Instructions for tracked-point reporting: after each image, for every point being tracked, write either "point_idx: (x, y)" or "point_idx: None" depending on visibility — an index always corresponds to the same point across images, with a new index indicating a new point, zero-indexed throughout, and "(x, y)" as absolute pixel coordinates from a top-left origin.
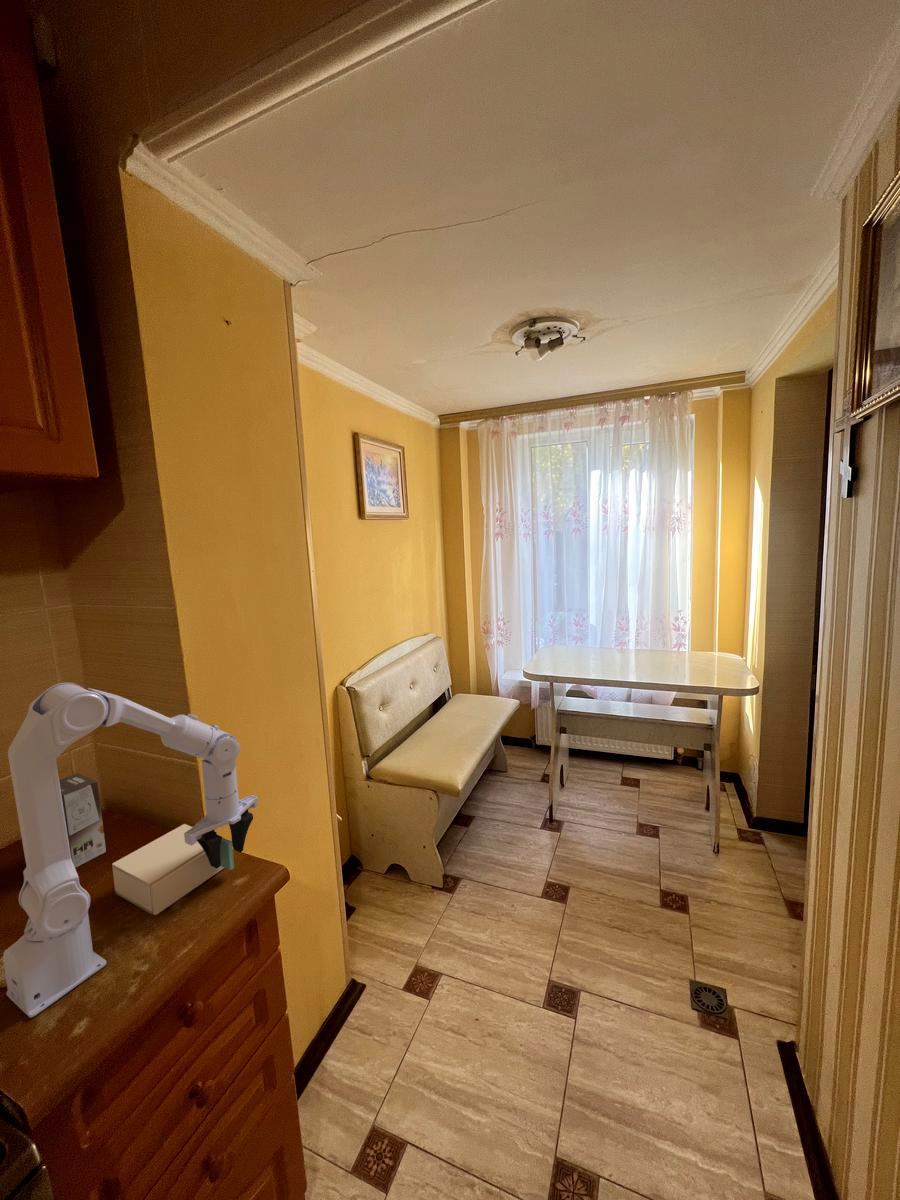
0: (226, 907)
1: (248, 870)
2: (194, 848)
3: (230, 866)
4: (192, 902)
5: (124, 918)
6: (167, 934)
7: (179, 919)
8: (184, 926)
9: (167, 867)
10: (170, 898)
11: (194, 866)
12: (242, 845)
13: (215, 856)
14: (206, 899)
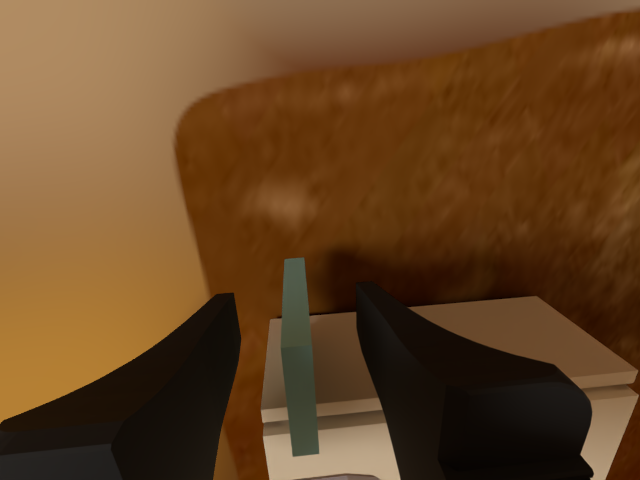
0: (414, 111)
1: (228, 230)
2: (383, 461)
3: (303, 265)
4: (445, 255)
5: None
6: (580, 186)
7: (518, 217)
8: (538, 168)
9: None
10: (500, 312)
11: None
12: (213, 306)
13: (415, 312)
14: (415, 225)
